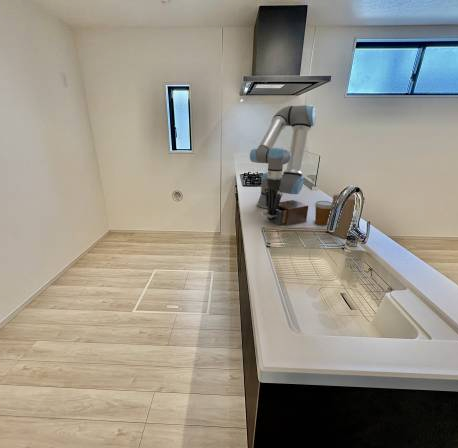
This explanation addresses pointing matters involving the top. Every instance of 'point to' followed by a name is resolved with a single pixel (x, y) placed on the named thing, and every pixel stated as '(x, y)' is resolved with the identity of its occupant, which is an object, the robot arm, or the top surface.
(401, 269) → the top surface
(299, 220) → the cabinet
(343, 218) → the wooden block
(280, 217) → the drawer
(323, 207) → the amber jar
